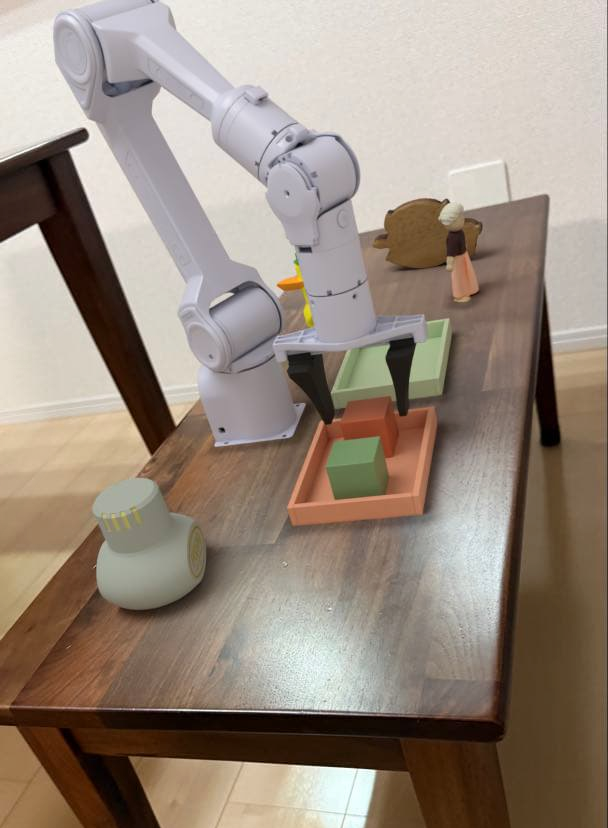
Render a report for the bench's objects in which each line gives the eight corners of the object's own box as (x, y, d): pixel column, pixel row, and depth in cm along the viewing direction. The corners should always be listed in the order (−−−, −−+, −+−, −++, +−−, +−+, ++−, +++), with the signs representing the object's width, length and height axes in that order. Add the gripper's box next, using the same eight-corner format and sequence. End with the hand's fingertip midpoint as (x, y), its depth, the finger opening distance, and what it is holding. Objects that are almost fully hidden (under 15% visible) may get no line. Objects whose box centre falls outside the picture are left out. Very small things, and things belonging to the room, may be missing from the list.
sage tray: (335, 413, 96) (330, 392, 94) (357, 352, 108) (353, 333, 107) (442, 399, 92) (439, 377, 90) (452, 337, 104) (449, 317, 103)
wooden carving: (487, 250, 127) (478, 181, 121) (485, 260, 124) (476, 191, 118) (381, 268, 132) (367, 204, 127) (376, 279, 129) (362, 213, 123)
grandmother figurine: (478, 306, 110) (465, 208, 103) (449, 311, 111) (433, 214, 104) (480, 285, 116) (467, 191, 109) (452, 290, 117) (438, 197, 110)
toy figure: (289, 348, 115) (265, 262, 109) (297, 336, 118) (274, 252, 111) (336, 342, 113) (314, 254, 106) (342, 331, 115) (321, 244, 109)
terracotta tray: (293, 530, 78) (286, 508, 77) (325, 441, 91) (319, 420, 89) (423, 519, 75) (418, 495, 73) (438, 428, 87) (434, 405, 86)
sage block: (336, 507, 79) (325, 466, 76) (344, 480, 82) (333, 441, 80) (383, 502, 77) (373, 461, 75) (389, 476, 81) (380, 435, 78)
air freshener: (133, 558, 82) (93, 471, 76) (214, 542, 80) (180, 453, 75) (108, 633, 73) (61, 541, 67) (199, 617, 71) (158, 522, 66)
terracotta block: (349, 461, 85) (339, 422, 82) (357, 438, 88) (347, 401, 86) (393, 457, 83) (384, 417, 81) (399, 434, 87) (391, 395, 84)
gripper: (420, 255, 77) (443, 387, 85) (272, 280, 82) (306, 404, 89) (410, 284, 72) (435, 423, 79) (253, 309, 76) (291, 438, 84)
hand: (366, 415), depth 84 cm, fingers open, 7 cm apart
